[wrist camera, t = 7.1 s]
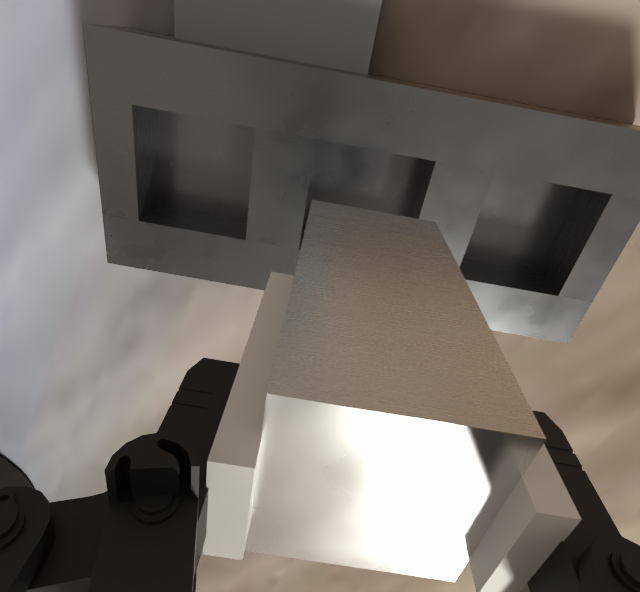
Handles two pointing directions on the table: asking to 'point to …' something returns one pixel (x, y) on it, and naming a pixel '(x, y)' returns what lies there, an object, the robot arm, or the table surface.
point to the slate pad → (285, 28)
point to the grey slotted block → (352, 172)
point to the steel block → (385, 405)
